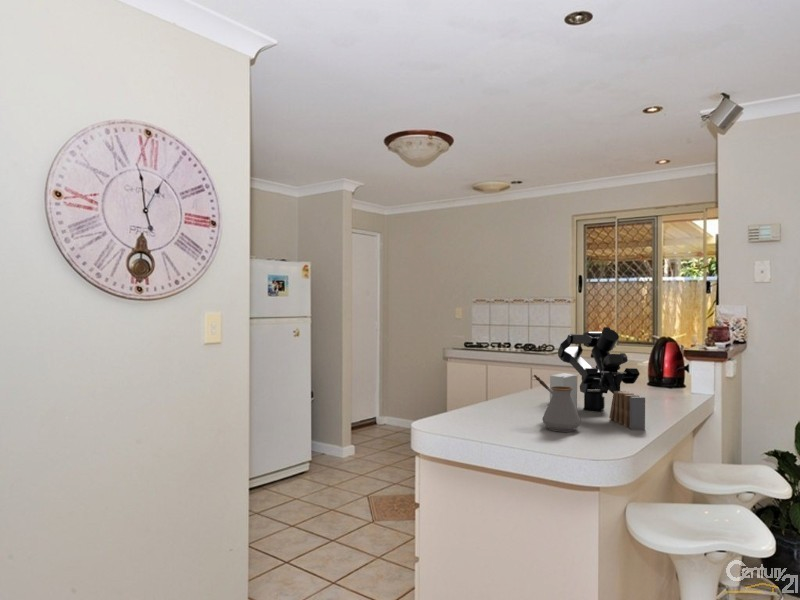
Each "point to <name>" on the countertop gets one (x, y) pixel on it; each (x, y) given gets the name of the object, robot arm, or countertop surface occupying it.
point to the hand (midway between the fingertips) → (618, 395)
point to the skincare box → (565, 384)
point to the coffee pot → (560, 409)
